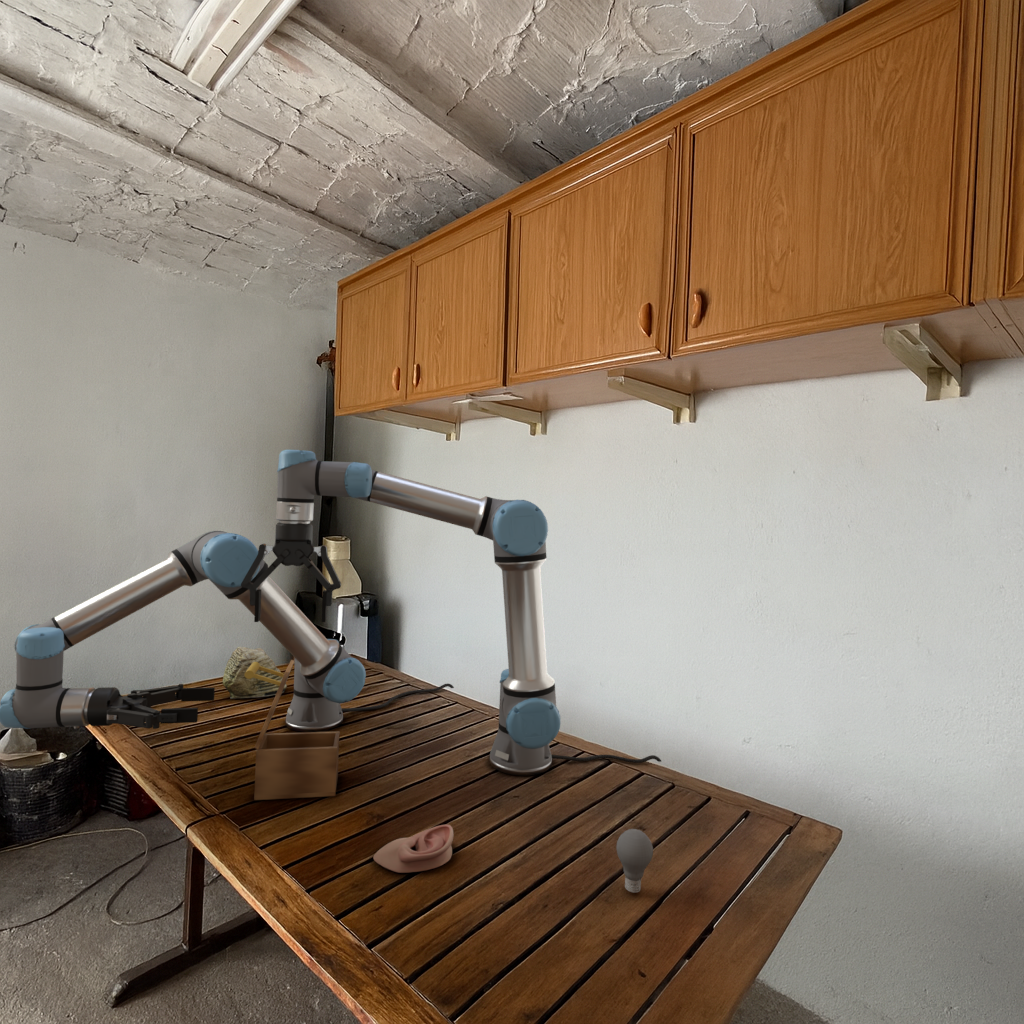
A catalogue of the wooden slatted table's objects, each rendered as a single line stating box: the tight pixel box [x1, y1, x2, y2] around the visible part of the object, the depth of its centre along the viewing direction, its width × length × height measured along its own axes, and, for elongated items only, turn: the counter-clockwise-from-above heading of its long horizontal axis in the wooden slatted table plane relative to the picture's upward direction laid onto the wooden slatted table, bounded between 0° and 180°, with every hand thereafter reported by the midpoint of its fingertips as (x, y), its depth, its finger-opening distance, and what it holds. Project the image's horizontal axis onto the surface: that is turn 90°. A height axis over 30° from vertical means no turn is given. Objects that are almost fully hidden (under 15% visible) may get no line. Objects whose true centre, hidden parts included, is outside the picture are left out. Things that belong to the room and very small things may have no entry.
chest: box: [253, 730, 340, 801], centre depth 137 cm, size 16×10×10 cm, turn 102°
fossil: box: [222, 646, 288, 699], centre depth 198 cm, size 9×18×15 cm, turn 132°
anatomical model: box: [372, 824, 455, 874], centre depth 113 cm, size 13×4×12 cm
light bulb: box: [615, 828, 654, 894], centre depth 106 cm, size 6×6×10 cm
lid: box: [245, 659, 295, 750], centre depth 135 cm, size 17×10×8 cm
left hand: (206, 704), depth 133 cm, fingers open, 13 cm apart
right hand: (290, 621), depth 136 cm, fingers open, 13 cm apart
